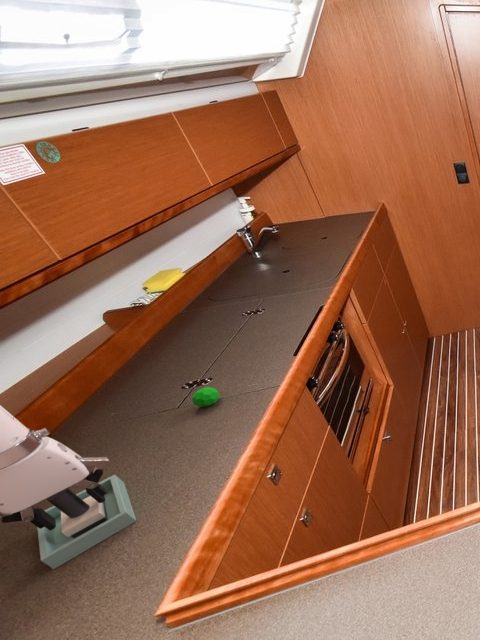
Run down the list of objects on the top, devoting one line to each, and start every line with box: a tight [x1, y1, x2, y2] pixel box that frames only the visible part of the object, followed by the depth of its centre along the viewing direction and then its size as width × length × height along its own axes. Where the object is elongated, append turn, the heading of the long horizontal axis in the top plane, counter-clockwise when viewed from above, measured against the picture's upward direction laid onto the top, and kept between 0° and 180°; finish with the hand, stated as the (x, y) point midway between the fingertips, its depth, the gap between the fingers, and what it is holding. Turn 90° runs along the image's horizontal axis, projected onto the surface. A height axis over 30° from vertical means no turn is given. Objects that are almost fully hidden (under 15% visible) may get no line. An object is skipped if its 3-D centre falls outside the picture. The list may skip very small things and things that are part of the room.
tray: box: [36, 474, 137, 570], centre depth 81 cm, size 15×11×3 cm
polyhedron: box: [191, 386, 220, 408], centre depth 108 cm, size 5×5×5 cm
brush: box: [46, 487, 108, 538], centre depth 79 cm, size 7×5×9 cm
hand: (77, 510), depth 80 cm, fingers open, 5 cm apart
